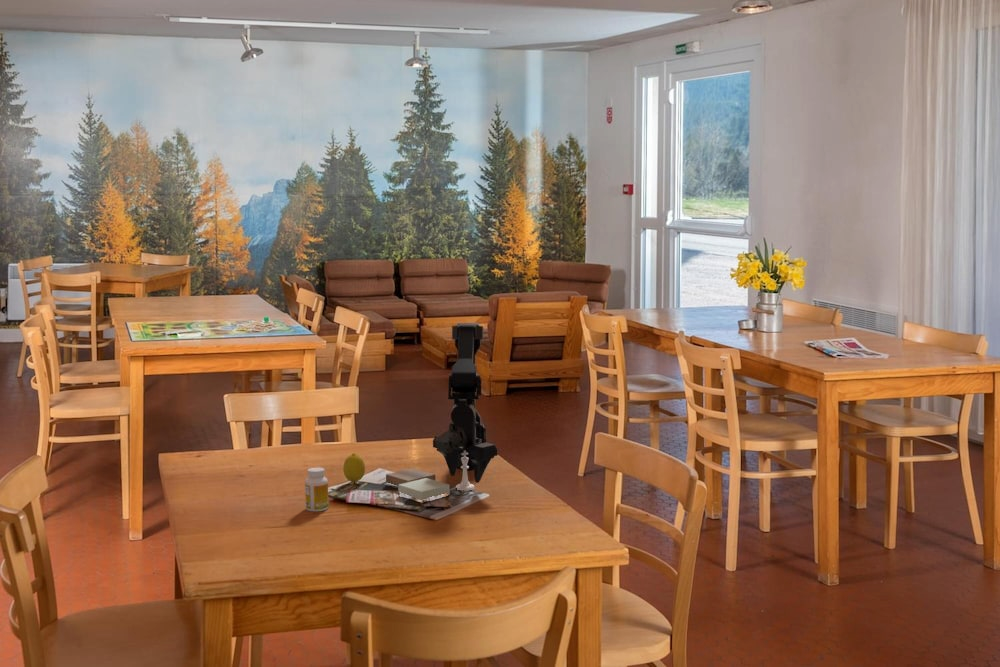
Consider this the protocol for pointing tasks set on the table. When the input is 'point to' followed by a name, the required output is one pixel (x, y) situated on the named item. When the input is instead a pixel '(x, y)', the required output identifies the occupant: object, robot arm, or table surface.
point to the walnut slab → (408, 476)
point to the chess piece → (465, 474)
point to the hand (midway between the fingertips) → (465, 479)
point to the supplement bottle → (316, 490)
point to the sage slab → (424, 488)
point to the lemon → (354, 468)
